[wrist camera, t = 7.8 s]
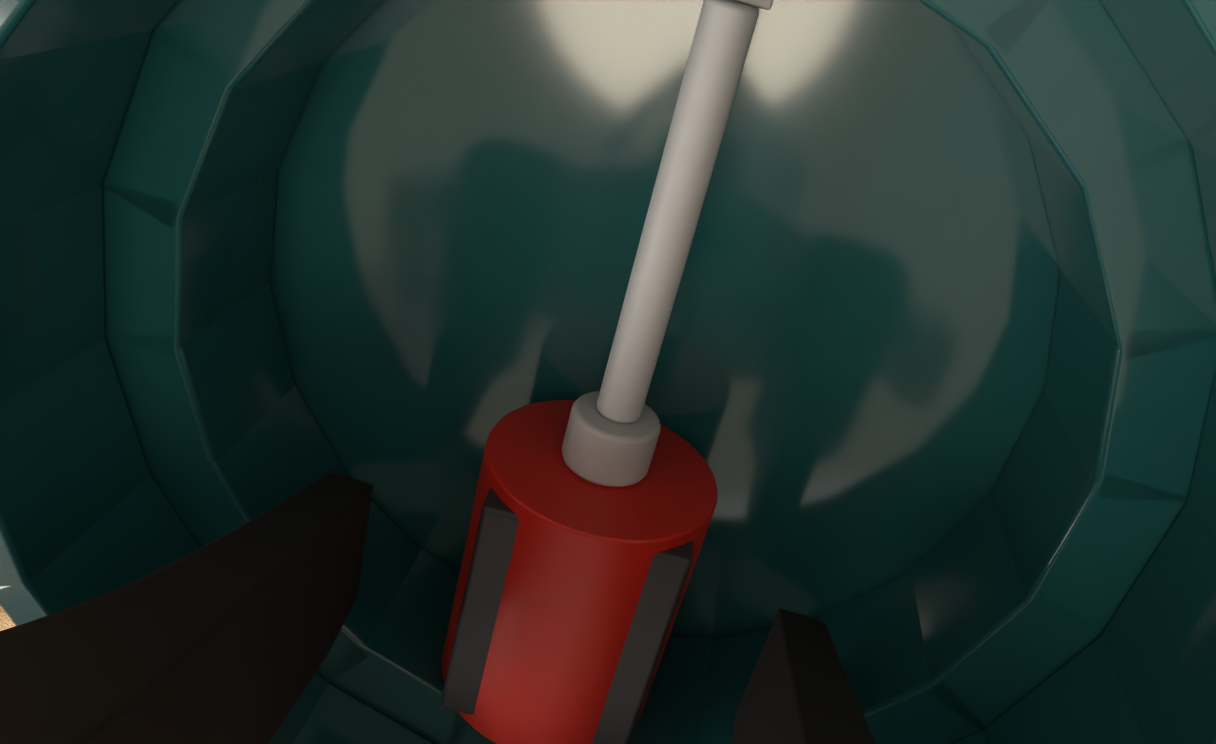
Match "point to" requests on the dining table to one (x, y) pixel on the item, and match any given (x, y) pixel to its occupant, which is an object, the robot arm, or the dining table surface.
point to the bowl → (693, 342)
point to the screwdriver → (597, 484)
